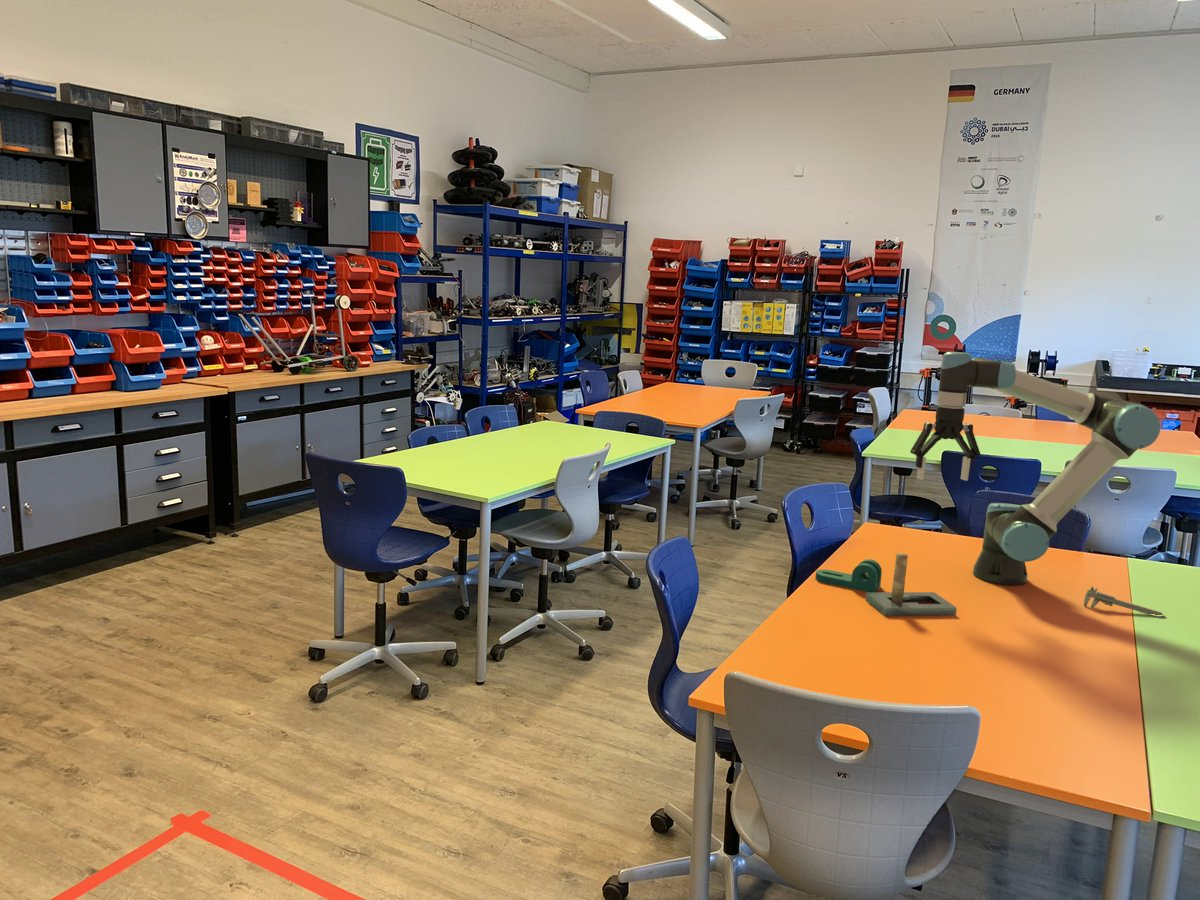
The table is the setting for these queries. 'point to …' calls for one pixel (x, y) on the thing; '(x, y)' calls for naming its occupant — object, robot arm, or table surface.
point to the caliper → (1114, 602)
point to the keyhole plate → (911, 604)
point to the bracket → (854, 577)
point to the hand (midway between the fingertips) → (942, 479)
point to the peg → (899, 578)
